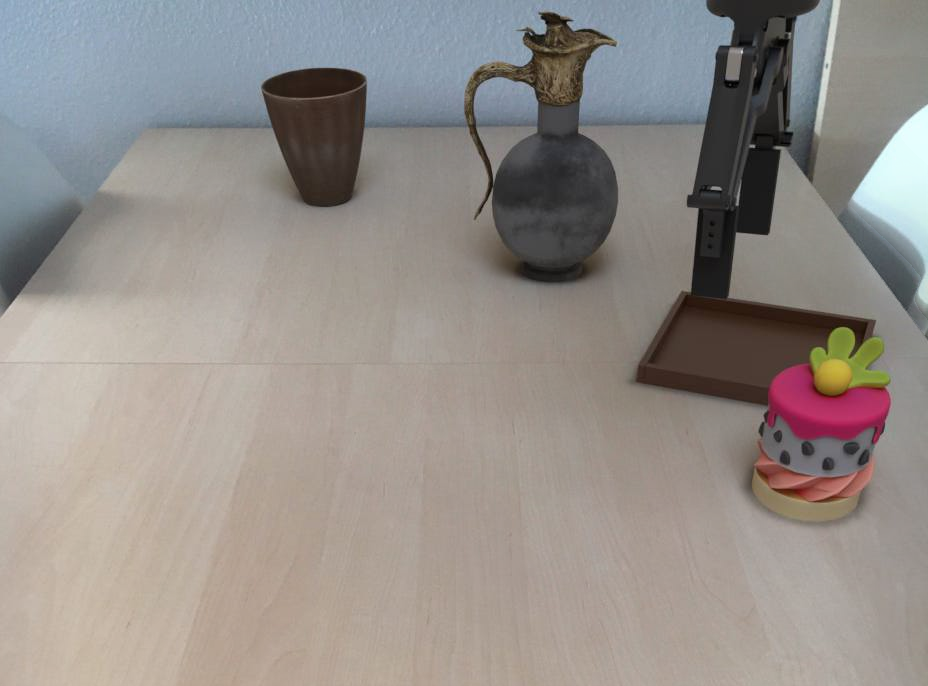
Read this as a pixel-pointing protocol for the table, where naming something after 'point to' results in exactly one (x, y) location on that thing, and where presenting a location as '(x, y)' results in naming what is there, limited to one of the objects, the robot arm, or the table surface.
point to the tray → (737, 345)
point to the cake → (822, 431)
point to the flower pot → (319, 129)
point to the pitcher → (550, 159)
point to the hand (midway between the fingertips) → (732, 262)
